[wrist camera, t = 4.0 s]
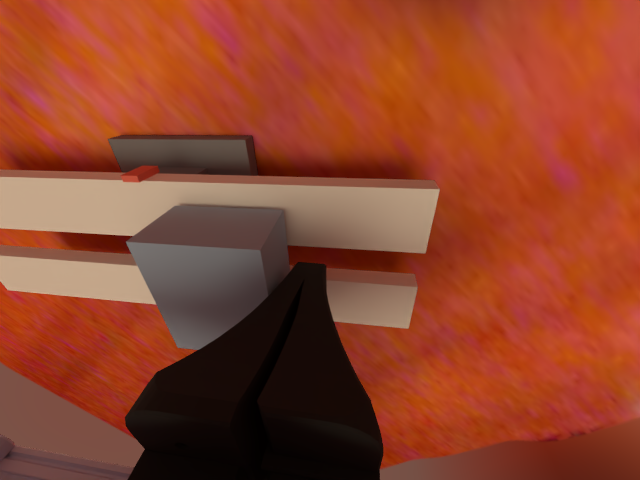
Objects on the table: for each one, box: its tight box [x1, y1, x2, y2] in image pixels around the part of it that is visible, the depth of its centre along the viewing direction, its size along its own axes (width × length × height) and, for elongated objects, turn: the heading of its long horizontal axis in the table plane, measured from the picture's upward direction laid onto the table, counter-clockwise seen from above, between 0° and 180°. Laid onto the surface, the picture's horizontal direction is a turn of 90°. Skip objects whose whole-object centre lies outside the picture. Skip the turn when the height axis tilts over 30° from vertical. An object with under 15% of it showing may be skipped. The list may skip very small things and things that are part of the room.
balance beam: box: [0, 135, 440, 329], centre depth 16 cm, size 26×10×5 cm, turn 92°
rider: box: [126, 206, 290, 350], centre depth 12 cm, size 5×6×4 cm
